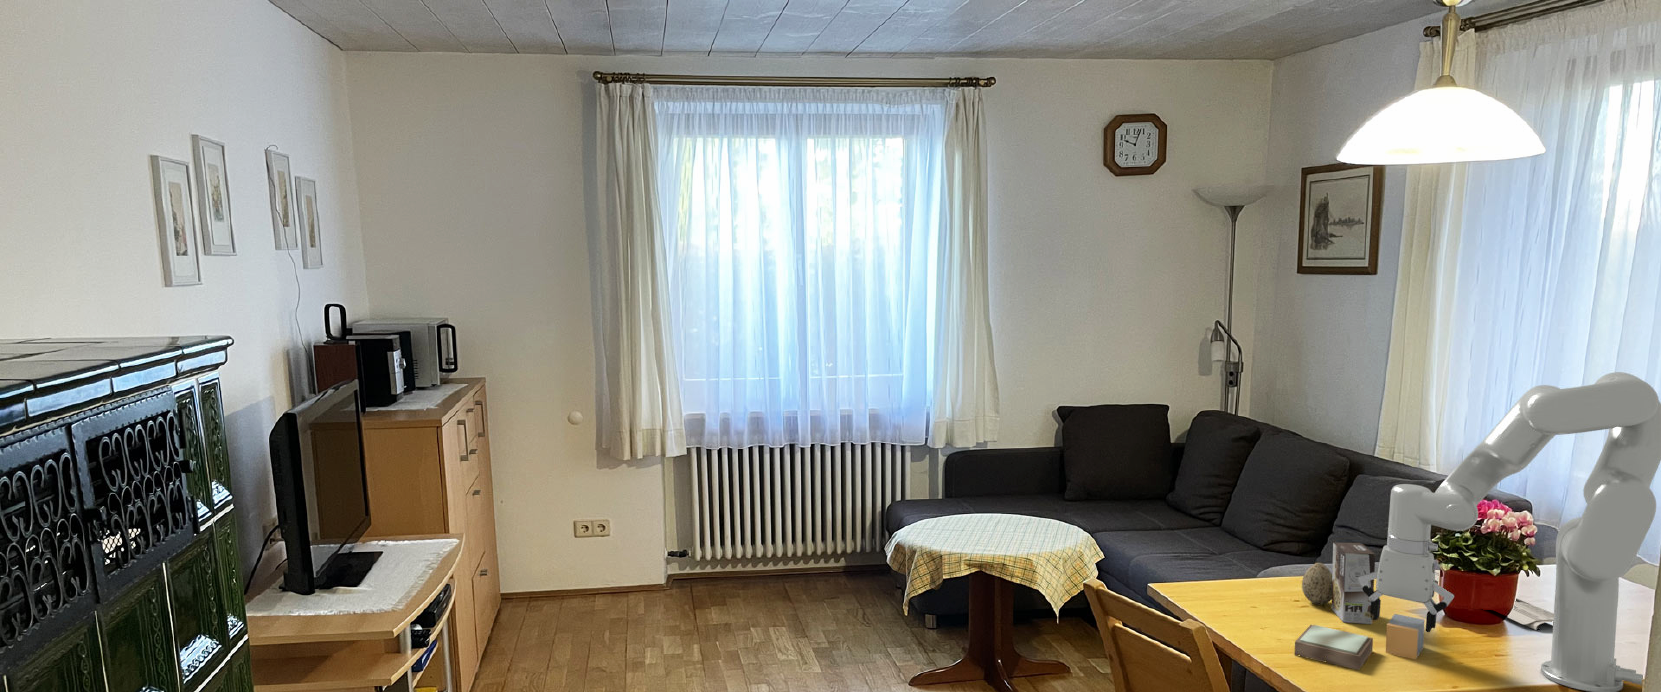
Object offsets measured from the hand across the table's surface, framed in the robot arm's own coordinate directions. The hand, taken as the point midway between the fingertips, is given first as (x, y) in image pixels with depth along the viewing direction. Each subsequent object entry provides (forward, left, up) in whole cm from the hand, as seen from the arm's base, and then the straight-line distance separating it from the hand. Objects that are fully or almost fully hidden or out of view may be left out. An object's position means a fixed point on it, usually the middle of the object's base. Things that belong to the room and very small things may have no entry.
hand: (1402, 624), depth 202 cm
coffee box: (+12, -14, -6) cm, 20 cm away
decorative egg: (+20, -18, -6) cm, 28 cm away
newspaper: (-10, -44, -6) cm, 45 cm away
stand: (+10, +11, -5) cm, 16 cm away
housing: (-1, 0, -5) cm, 5 cm away
